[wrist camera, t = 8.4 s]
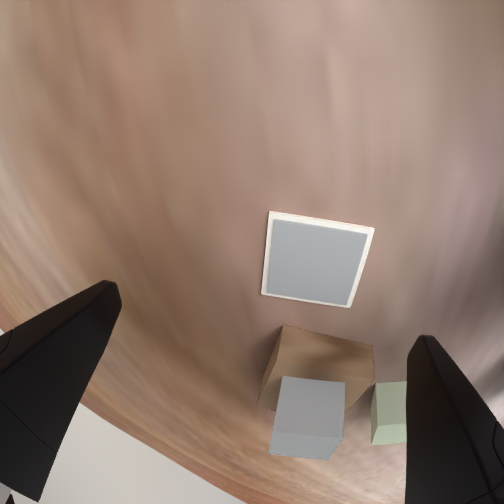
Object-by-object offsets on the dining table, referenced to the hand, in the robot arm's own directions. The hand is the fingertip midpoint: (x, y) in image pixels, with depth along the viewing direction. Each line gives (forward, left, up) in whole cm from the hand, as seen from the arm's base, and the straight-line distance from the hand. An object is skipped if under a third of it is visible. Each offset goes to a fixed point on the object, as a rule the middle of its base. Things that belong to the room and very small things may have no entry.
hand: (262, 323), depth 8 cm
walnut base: (-4, +17, -12) cm, 21 cm away
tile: (-2, +6, -12) cm, 14 cm away
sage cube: (-14, +21, -12) cm, 28 cm away
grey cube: (-4, +17, -8) cm, 19 cm away
